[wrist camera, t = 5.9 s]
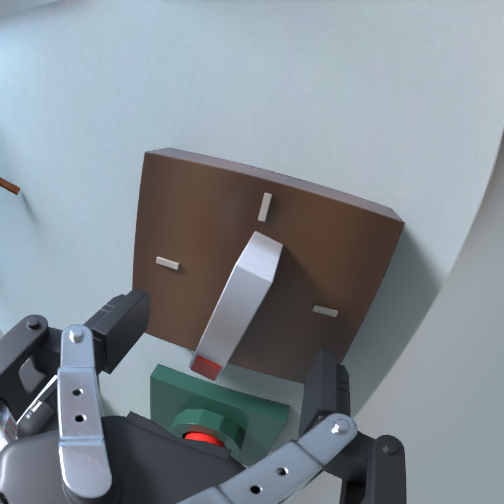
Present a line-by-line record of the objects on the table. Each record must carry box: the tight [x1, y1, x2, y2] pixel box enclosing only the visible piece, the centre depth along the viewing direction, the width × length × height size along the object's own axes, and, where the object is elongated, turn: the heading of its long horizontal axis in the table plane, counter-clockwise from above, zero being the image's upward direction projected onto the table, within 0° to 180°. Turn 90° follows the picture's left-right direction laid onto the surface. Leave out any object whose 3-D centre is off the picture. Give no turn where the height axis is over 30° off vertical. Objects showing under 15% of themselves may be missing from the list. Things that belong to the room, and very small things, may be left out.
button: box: [185, 431, 224, 447], centre depth 23 cm, size 4×4×2 cm
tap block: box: [132, 148, 405, 384], centre depth 18 cm, size 14×12×3 cm
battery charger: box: [16, 375, 59, 440], centre depth 25 cm, size 7×4×11 cm, turn 156°
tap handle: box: [189, 231, 283, 381], centre depth 15 cm, size 6×2×4 cm, turn 156°
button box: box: [150, 364, 289, 466], centre depth 25 cm, size 12×10×4 cm
